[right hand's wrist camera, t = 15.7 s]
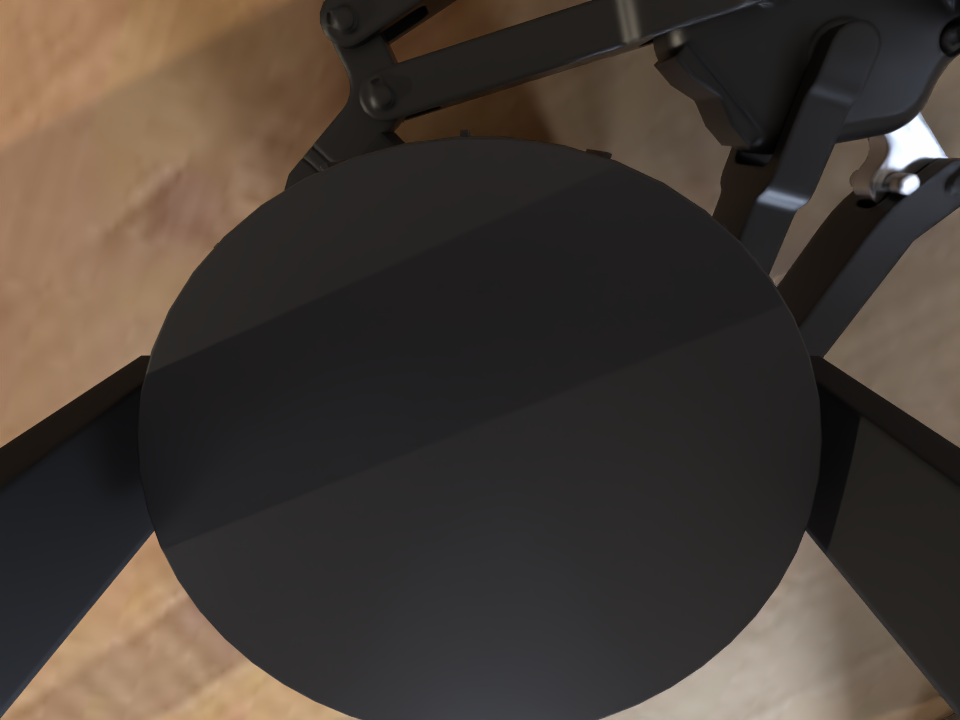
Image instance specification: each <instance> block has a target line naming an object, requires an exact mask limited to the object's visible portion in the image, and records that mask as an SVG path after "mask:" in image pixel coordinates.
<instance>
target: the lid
mask: <svg viewBox="0 0 960 720" xmlns="http://www.w3.org/2000/svg"><path fill="white" fill-rule="evenodd" d="M611 156H612V154H610V153H608V152H604V151H597V150H590V149H587V150H586V152H585V151H582V150H578V149H575V148H572V147H568V146H565V145H559V144H552V143H546V142H539V141H532V140H526V139H519V138H513V137H496V136H470V131H469V130H461V136H459V137H451V138H443V139H435V140H427V141H419V142H412V143H404V144H400V145H396V146H393V147H389V148H386V149H382V150H378V151H375V152H371V153H367V154H364V155H360V156H356V157H353V158H350V159H345V160H339V161H334V162H329V163H325V164H323V165H321V166H320V167H321V169H322V171H320V172H318V173H316V174H313V175H311V176H309V177H307V178H304V179H303V180H301V181H299V182H298V183H296V184H295V185H293V186H291V187H290V188H288V189H287V190H285V191H283V192H282V193H280V194H278V195H277V196H275V197H274V198H272V199H270V200H269V201H267V202H266V203H264V204H262V205H261V206H260V207H259V208H257V209H256V210H255V211H254V212H253V213H251V214H250V215H249V216H248V217H247V218H246V219H244V220H243V221H242V222H241V223H240V224H238V225H237V226H236V227H235V228H234V229H233V230H231V231H230V232H229V233H228V234H227V235H225V236H224V237H223V239H222V240H221V241H220V242H219V243H217V244H216V245H215V247H214V249H213V250H212V251H211V252H210V253H209V255H208V256H207V257H206V258H205V259H204V260H203V261H202V263H201V264H200V265H199V266H198V267H197V268H196V269H195V271H194V272H193V273H192V275H191V276H190V278H189V280H188V281H187V283H186V284H185V286H184V287H183V289H182V291H181V292H180V294H179V295H178V297H177V299H176V300H175V302H174V303H173V305H172V306H171V308H170V310H169V312H168V314H167V316H166V319H165V321H164V323H163V326H162V328H161V330H160V332H159V335H158V337H157V339H156V342H155V344H154V346H153V349H152V351H151V355H150V359H149V363H148V367H147V371H146V375H145V379H144V383H143V386H142V390H141V398H140V409H139V419H138V429H137V438H138V456H139V473H140V478H141V482H142V487H143V492H144V497H145V502H146V507H147V511H148V514H149V517H150V519H151V522H152V525H153V528H154V530H155V533H156V536H157V539H158V541H159V544H160V547H161V549H162V551H163V553H164V554H165V556H166V558H167V560H168V562H169V564H170V566H171V568H172V570H173V572H174V574H175V575H176V577H177V579H178V581H179V582H180V584H181V585H182V587H183V588H184V589H185V591H186V592H187V594H188V595H189V597H190V598H191V599H192V601H193V602H194V604H195V605H196V607H197V608H198V609H199V611H200V612H201V613H202V614H203V615H204V616H205V617H206V618H207V620H208V621H209V622H210V623H211V624H212V625H213V626H214V627H215V628H216V630H217V631H218V632H219V633H220V634H221V635H222V636H223V637H224V638H225V639H226V640H227V641H228V642H229V643H230V644H232V645H233V646H234V647H235V648H236V649H237V650H238V651H240V652H241V653H242V654H243V655H244V656H245V657H246V658H248V659H249V660H250V661H251V662H252V663H253V664H255V665H256V666H258V667H259V668H261V669H262V670H264V671H265V672H266V673H268V674H269V675H271V676H272V677H274V678H275V679H277V680H278V681H279V682H281V683H282V684H284V685H286V686H288V687H289V688H291V689H293V690H295V691H297V692H299V693H300V694H302V695H304V696H306V697H308V698H310V699H311V700H313V701H315V702H317V703H320V704H322V705H325V706H327V707H329V708H332V709H334V710H337V711H339V712H341V713H344V714H346V715H348V716H351V717H355V718H358V719H361V720H599V719H603V718H605V717H608V716H610V715H613V714H615V713H618V712H620V711H623V710H626V709H628V708H631V707H633V706H636V705H638V704H640V703H642V702H644V701H646V700H648V699H650V698H652V697H653V696H655V695H657V694H659V693H661V692H663V691H665V690H667V689H669V688H671V687H672V686H674V685H675V684H677V683H678V682H680V681H681V680H683V679H684V678H686V677H687V676H689V675H690V674H692V673H693V672H695V671H696V670H698V669H699V668H701V667H702V666H703V665H705V664H706V663H707V662H708V661H709V660H711V659H712V658H713V657H714V656H715V655H717V654H718V653H719V652H720V651H721V650H722V649H724V648H725V647H726V646H727V645H728V644H730V643H731V642H732V641H733V640H734V638H735V637H736V636H737V635H738V634H739V633H740V632H741V631H742V630H743V629H744V628H745V627H746V626H747V625H748V624H749V623H750V622H751V620H752V619H753V618H754V617H755V616H756V615H757V614H758V612H759V611H760V610H761V608H762V607H763V606H764V604H765V603H766V601H767V600H768V599H769V597H770V596H771V595H772V593H773V592H774V591H775V589H776V588H777V586H778V585H779V583H780V581H781V580H782V578H783V576H784V574H785V572H786V571H787V569H788V567H789V565H790V563H791V562H792V560H793V558H794V556H795V554H796V552H797V550H798V547H799V545H800V542H801V540H802V537H803V534H804V532H805V529H806V527H807V524H808V522H809V519H810V516H811V512H812V508H813V503H814V499H815V495H816V490H817V486H818V482H819V474H820V462H821V450H822V427H821V413H820V399H819V395H818V390H817V386H816V381H815V377H814V373H813V368H812V364H811V359H810V356H809V354H808V351H807V349H806V346H805V344H804V341H803V339H802V336H801V334H800V331H799V329H798V326H797V324H796V321H795V319H794V316H793V315H792V313H791V311H790V310H789V308H788V306H787V305H786V303H785V301H784V300H783V298H782V296H781V295H780V293H779V291H778V290H777V288H776V286H775V284H774V283H773V281H772V279H771V278H770V277H769V276H768V274H767V273H766V272H765V271H764V270H763V268H762V267H761V266H760V265H759V263H758V262H757V261H756V260H755V259H754V257H753V256H752V255H751V254H750V253H749V251H748V250H747V249H746V248H745V247H744V245H743V244H742V243H741V242H740V241H739V240H738V239H737V238H736V237H734V236H733V235H732V234H731V233H730V232H729V231H728V230H727V227H726V226H725V225H724V224H723V223H720V222H718V221H716V220H715V219H714V218H713V217H712V216H711V215H710V214H709V213H708V212H706V211H705V210H704V209H702V208H701V207H699V206H698V205H696V204H695V203H693V202H692V201H690V200H689V199H687V198H686V197H684V196H682V195H681V194H679V193H678V192H676V191H675V190H673V189H672V188H670V187H669V186H667V185H666V184H664V183H663V182H660V181H658V180H656V179H654V178H652V177H650V176H647V175H645V174H643V173H641V172H639V171H637V170H635V169H632V168H630V167H628V166H626V165H624V164H622V163H620V162H617V161H615V160H612V159H610V158H611Z"/></svg>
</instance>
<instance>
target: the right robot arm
mask: <svg viewBox="0 0 960 720" xmlns="http://www.w3.org/2000/svg"><path fill="white" fill-rule="evenodd" d="M149 359H150V356H140V357H139V358H137V359H136V360H134V361H132V362H131V363H129V364H128V365H126V366H125V367H123V368H122V369H120V370H119V371H117V372H116V373H114V374H113V375H111V376H110V377H108V378H107V379H105V380H104V381H102V382H100V383H99V384H97V385H96V386H94V387H93V388H91V389H90V390H88V391H87V392H85V393H84V394H82V395H81V396H79V397H78V398H76V399H75V400H73V401H71V402H70V403H68V404H67V405H65V406H64V407H62V408H61V409H59V410H58V411H56V412H55V413H53V414H52V415H50V416H49V417H47V418H46V419H44V420H42V421H41V422H39V423H38V424H36V425H35V426H33V427H32V428H30V429H29V430H27V431H26V432H24V433H23V434H21V435H20V436H18V437H17V438H15V439H14V440H12V441H10V442H9V443H7V444H6V445H4V446H3V447H1V448H0V718H1V717H2V716H3V714H4V713H5V712H6V711H7V710H8V708H9V707H10V706H11V705H12V704H13V702H14V701H15V700H16V699H17V697H18V696H19V695H20V694H21V693H22V691H23V690H24V689H25V688H26V686H27V685H28V684H29V683H30V682H31V680H32V679H33V678H34V677H35V675H36V674H37V673H38V672H39V671H40V669H41V668H42V667H43V666H44V665H45V663H46V662H47V661H48V660H49V658H50V657H51V656H52V655H53V654H54V652H55V651H56V650H57V649H58V647H59V646H60V645H61V644H62V643H63V641H64V640H65V639H66V638H67V636H68V635H69V634H70V633H71V632H72V630H73V629H74V628H75V627H76V626H77V624H78V623H79V622H80V621H81V619H82V618H83V617H84V616H85V615H86V613H87V612H88V611H89V610H90V608H91V607H92V606H93V605H94V604H95V602H96V601H97V600H98V599H99V597H100V596H101V595H102V594H103V593H104V591H105V590H106V589H107V588H108V587H109V585H110V584H111V583H112V582H113V580H114V579H115V578H116V577H117V576H118V574H119V573H120V572H121V571H122V569H123V568H124V567H125V566H126V565H127V563H128V562H129V561H130V560H131V558H132V557H133V556H134V555H135V554H136V552H137V551H138V550H139V549H140V548H141V546H142V545H143V544H144V543H145V541H146V540H147V539H148V538H149V537H150V535H151V534H152V533H153V532H154V528H153V525H152V522H151V519H150V517H149V514H148V511H147V507H146V502H145V497H144V492H143V487H142V482H141V478H140V473H139V456H138V438H137V429H138V419H139V409H140V398H141V390H142V386H143V383H144V379H145V375H146V371H147V367H148V363H149ZM810 359H811V364H812V368H813V373H814V377H815V381H816V386H817V390H818V395H819V399H820V413H821V427H822V450H821V462H820V474H819V482H818V486H817V490H816V495H815V499H814V503H813V508H812V512H811V516H810V519H809V522H808V524H807V527H806V529H805V530H806V532H807V533H808V534H809V535H810V537H811V538H812V539H813V540H814V541H815V543H816V544H817V545H818V546H819V547H820V549H821V550H822V551H823V552H824V554H825V555H826V556H827V557H828V558H829V560H830V561H831V562H832V563H833V565H834V566H835V567H836V568H837V569H838V571H839V572H840V573H841V574H842V576H843V577H844V578H845V579H846V580H847V582H848V583H849V584H850V585H851V587H852V588H853V589H854V590H855V591H856V593H857V594H858V595H859V596H860V597H861V599H862V600H863V601H864V602H865V604H866V605H867V606H868V607H869V608H870V610H871V611H872V612H873V613H874V615H875V616H876V617H877V618H878V619H879V621H880V622H881V623H882V624H883V626H884V627H885V628H886V629H887V630H888V632H889V633H890V634H891V635H892V636H893V638H894V639H895V640H896V641H897V643H898V644H899V645H900V646H901V647H902V649H903V650H904V651H905V652H906V654H907V655H908V656H909V657H910V658H911V660H912V661H913V662H914V663H915V665H916V666H917V667H918V668H919V669H920V671H921V672H922V673H923V674H924V675H925V677H926V678H927V679H928V680H929V682H930V683H931V684H932V685H933V686H934V688H935V689H936V690H937V691H938V693H939V694H940V695H941V696H942V697H943V699H944V700H945V701H946V702H947V704H948V705H949V706H950V707H951V708H952V710H953V711H954V712H955V713H956V714H957V716H958V717H959V718H960V448H959V447H957V446H956V445H954V444H953V443H951V442H950V441H948V440H946V439H945V438H943V437H942V436H940V435H939V434H937V433H936V432H934V431H933V430H931V429H930V428H928V427H927V426H925V425H924V424H922V423H921V422H919V421H918V420H916V419H914V418H913V417H911V416H910V415H908V414H907V413H905V412H904V411H902V410H901V409H899V408H898V407H896V406H895V405H893V404H892V403H890V402H889V401H887V400H885V399H884V398H882V397H881V396H879V395H878V394H876V393H875V392H873V391H872V390H870V389H869V388H867V387H866V386H864V385H863V384H861V383H860V382H858V381H856V380H855V379H853V378H852V377H850V376H849V375H847V374H846V373H844V372H843V371H841V370H840V369H838V368H837V367H835V366H834V365H832V364H831V363H829V362H828V361H826V360H824V359H823V358H821V357H820V356H810Z"/></svg>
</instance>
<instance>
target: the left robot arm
mask: <svg viewBox="0 0 960 720" xmlns="http://www.w3.org/2000/svg"><path fill="white" fill-rule="evenodd" d="M455 1H456V0H325V2H324V3H323V6H322V8H321V11H320V23H321V26H322V29H323V31H324V34H325V35H326V36H327V37H328V38H329V39H330V41H331V42H332V44H333V45H334V47H335V49H336V51H337V53H338V55H339V57H340V59H341V61H342V63H343V65H344V67H345V69H346V71H347V74H348V76H349V80H350V96H349V99H348V102H347V104H346V105H345V107H344V108H343V110H342V111H341V112H340V113H339V114H338V116H337V117H336V118H335V119H334V121H333V122H332V123H331V124H330V125H329V127H328V128H327V129H326V130H325V131H324V133H323V134H322V135H321V136H320V137H319V139H318V140H317V141H316V142H315V144H314V145H313V146H312V148H310V150H309V151H308V152H307V153H306V154H305V156H304V157H303V159H301V160H300V162H299V163H298V164H297V165H296V166H295V168H294V169H293V170H292V171H291V173H290V174H289V176H288V180H287V183H286V186H285V190H287V189H288V188H290V187H291V186H293V185H295V184H296V183H298V182H299V181H301V180H303V179H304V178H307V177H309V176H311V175H313V174H316V173H318V172H320V171H322V169H321V167H320V166H321V165H323V164H325V163H329V162H334V161H339V160H345V159H350V158H353V157H356V156H360V155H364V154H367V153H371V152H375V151H378V150H382V149H386V148H389V147H393V146H396V145H400V144H404V143H405V142H404V141H403V140H402V139H401V138H400V137H399V136H397V135H396V134H395V133H394V131H395V130H396V129H397V128H398V126H399V125H400V124H401V123H402V122H404V121H406V120H409V119H412V118H415V117H418V116H421V115H425V114H428V113H431V112H434V111H437V110H440V109H444V108H447V107H450V106H453V105H456V104H460V103H463V102H466V101H469V100H472V99H475V98H479V97H482V96H485V95H488V94H491V93H495V92H498V91H501V90H504V89H507V88H510V87H514V86H517V85H520V84H523V83H526V82H529V81H533V80H536V79H539V78H542V77H545V76H549V75H552V74H555V73H558V72H561V71H564V70H568V69H571V68H574V67H577V66H580V65H584V64H587V63H590V62H593V61H596V60H599V59H603V58H606V57H611V56H615V55H618V54H621V53H625V52H628V51H631V50H634V49H637V48H641V47H644V46H647V45H650V44H654V50H655V53H656V56H657V59H658V61H657V62H656V64H655V65H654V66H655V67H656V68H657V69H658V70H659V72H660V73H661V74H662V75H663V76H664V78H665V79H666V80H667V81H668V82H669V83H670V85H671V86H673V87H674V88H676V89H677V90H679V91H681V92H682V93H684V94H685V95H687V96H688V97H690V98H691V99H693V100H694V101H695V103H696V105H697V108H698V110H699V112H700V114H701V117H702V119H703V121H704V123H705V126H706V127H707V128H708V130H709V131H710V132H711V133H712V134H713V136H714V137H715V138H716V139H717V140H718V141H719V143H720V144H721V145H723V146H732V149H731V151H730V154H729V157H728V159H727V162H726V165H725V167H724V170H723V173H722V176H721V195H720V198H719V200H718V203H717V206H716V208H715V211H714V214H713V216H712V217H713V218H714V219H715V220H716V221H718V222H720V223H723V224H724V225H725V226H726V227H727V230H728V231H729V232H730V233H731V234H732V235H733V236H734V237H736V238H737V239H738V240H739V241H740V242H741V243H742V244H743V245H744V247H745V248H746V249H747V250H748V251H749V253H750V254H751V255H752V256H753V257H754V259H755V260H756V261H757V262H758V263H759V265H760V266H761V267H762V268H763V270H764V271H765V272H766V273H767V274H768V276H769V273H770V271H771V268H772V266H773V264H774V261H775V259H776V257H777V254H778V252H779V250H780V247H781V245H782V243H783V240H784V238H785V235H786V233H787V231H788V228H789V226H790V224H791V221H792V219H793V217H794V215H795V213H796V212H797V210H798V209H799V208H801V207H802V206H804V205H805V204H806V203H807V202H808V201H809V200H810V198H811V197H812V195H813V193H814V191H815V189H816V187H817V184H818V182H819V180H820V177H821V175H822V173H823V170H824V168H825V166H826V163H827V161H828V159H829V156H830V154H831V152H832V149H833V147H834V145H835V144H836V143H841V142H847V141H852V140H858V139H864V138H868V141H869V153H868V156H867V158H866V161H865V162H864V163H863V165H862V166H861V167H860V168H859V169H858V170H856V171H855V172H853V173H852V175H851V177H850V185H851V187H853V192H852V193H850V194H849V195H848V196H847V197H846V198H845V199H844V200H843V201H842V202H841V203H840V204H839V205H838V206H837V207H836V208H835V209H834V210H833V211H832V212H831V213H830V215H829V216H828V217H827V218H826V220H825V221H824V222H823V224H822V225H821V226H820V228H819V229H818V230H817V232H816V233H815V235H814V236H813V237H812V239H811V240H810V242H809V243H808V244H807V246H806V247H805V249H804V250H803V251H802V253H801V254H800V256H799V257H798V258H797V260H796V261H795V263H794V264H793V265H792V267H791V268H790V270H789V271H788V272H787V274H786V275H785V277H784V278H783V279H782V281H781V282H780V283H779V285H778V286H777V290H778V291H779V293H780V295H781V296H782V298H783V300H784V301H785V303H786V305H787V306H788V308H789V310H790V311H791V313H792V315H793V316H794V319H795V321H796V324H797V326H798V329H799V331H800V334H801V336H802V339H803V341H804V344H805V346H806V349H807V351H808V354H809V356H820V357H821V358H823V357H824V356H825V354H826V353H827V352H828V351H829V349H830V348H831V347H832V345H833V344H834V343H835V342H836V340H837V339H838V338H839V336H840V335H841V334H842V332H843V331H844V330H845V329H846V327H847V326H848V325H849V323H850V322H851V321H852V320H853V318H854V317H855V316H856V314H857V313H858V312H859V311H860V309H861V308H862V307H863V305H864V304H865V303H866V301H867V300H868V299H869V298H870V296H871V295H872V294H873V292H874V291H875V290H876V289H877V287H878V286H879V285H880V283H881V282H882V281H883V280H884V278H885V277H886V276H887V274H888V273H889V272H890V270H891V269H892V268H893V267H894V265H895V264H896V263H897V261H898V260H899V259H900V258H901V256H902V255H903V254H904V252H905V251H906V250H907V248H908V247H909V246H910V245H911V243H912V242H913V241H914V240H915V239H917V238H918V237H919V236H921V235H922V234H923V233H925V232H926V231H928V230H929V229H930V228H932V227H933V226H934V225H936V224H937V223H938V222H940V221H941V220H942V219H944V218H945V217H946V216H948V215H949V214H951V213H952V212H953V211H955V210H956V209H957V208H959V207H960V158H948V157H947V156H946V155H945V153H944V151H943V150H942V148H941V146H940V145H939V143H938V141H937V140H936V138H935V137H934V135H933V133H932V132H931V130H930V128H929V127H928V125H927V123H926V122H925V120H924V118H923V117H922V115H921V113H920V111H921V110H922V109H923V107H924V106H925V104H926V103H927V101H928V98H929V96H930V94H931V92H932V90H933V88H934V86H935V84H936V82H937V80H938V79H939V77H940V75H941V74H942V72H943V71H944V70H945V68H946V67H947V66H948V64H949V63H950V62H951V61H952V60H953V59H954V58H955V57H956V56H958V55H959V54H960V0H592V1H589V2H585V3H582V4H579V5H576V6H573V7H570V8H567V9H564V10H561V11H558V12H555V13H552V14H548V15H545V16H542V17H539V18H536V19H533V20H530V21H527V22H524V23H521V24H518V25H515V26H511V27H508V28H505V29H502V30H499V31H496V32H493V33H490V34H487V35H484V36H481V37H478V38H474V39H471V40H468V41H465V42H462V43H459V44H456V45H453V46H450V47H447V48H444V49H441V50H438V51H434V52H431V53H428V54H425V55H422V56H419V57H416V58H413V59H410V60H407V61H404V62H401V63H398V62H397V60H396V58H395V55H394V53H393V51H392V49H391V47H390V44H391V43H393V42H394V41H396V40H397V39H399V38H400V37H402V36H403V35H405V34H406V33H408V32H409V31H411V30H412V29H414V28H415V27H417V26H418V25H420V24H421V23H423V22H424V21H426V20H427V19H429V18H430V17H432V16H433V15H435V14H437V13H438V12H440V11H441V10H443V9H444V8H446V7H447V6H449V5H450V4H452V3H453V2H455ZM285 190H284V191H285ZM944 720H960V718H959V717H958V716H957V714H956V713H955V714H953V715H951V716H949V717H948V718H946V719H944Z"/></svg>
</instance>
